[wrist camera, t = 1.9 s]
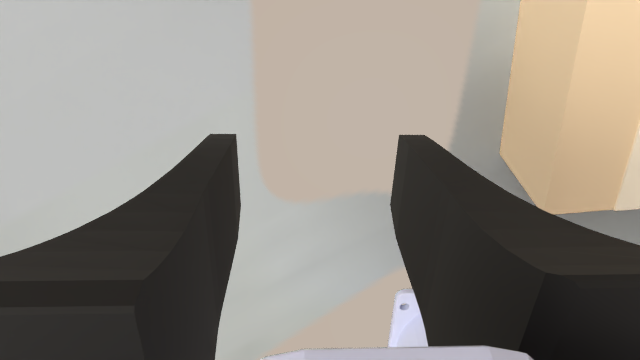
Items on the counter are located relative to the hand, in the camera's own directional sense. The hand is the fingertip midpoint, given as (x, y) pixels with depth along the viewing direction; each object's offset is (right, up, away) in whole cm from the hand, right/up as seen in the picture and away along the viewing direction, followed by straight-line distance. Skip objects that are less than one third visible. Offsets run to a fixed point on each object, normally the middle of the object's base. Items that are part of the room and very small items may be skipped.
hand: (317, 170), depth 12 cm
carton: (+11, +5, +9) cm, 15 cm away
